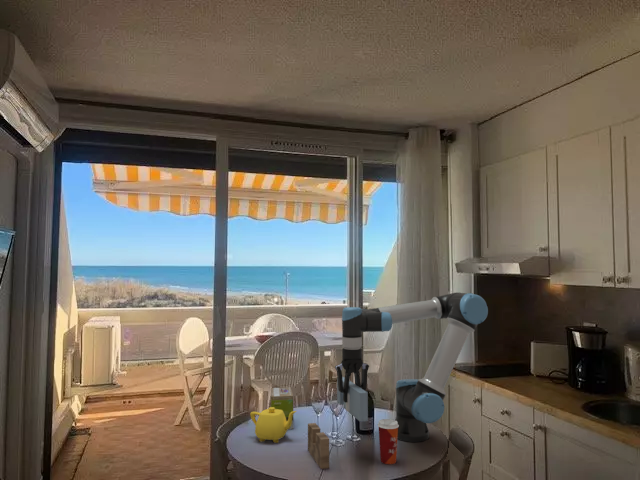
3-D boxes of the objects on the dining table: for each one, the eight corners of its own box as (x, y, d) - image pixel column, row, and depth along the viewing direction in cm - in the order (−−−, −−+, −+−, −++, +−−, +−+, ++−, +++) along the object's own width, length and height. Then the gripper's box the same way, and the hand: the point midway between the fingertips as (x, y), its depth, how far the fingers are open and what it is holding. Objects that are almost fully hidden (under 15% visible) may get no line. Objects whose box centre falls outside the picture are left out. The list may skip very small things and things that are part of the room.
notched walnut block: (307, 450, 181) (307, 423, 181) (315, 449, 182) (315, 422, 182) (320, 469, 164) (321, 439, 164) (329, 468, 164) (329, 438, 165)
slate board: (337, 402, 192) (337, 377, 193) (344, 401, 193) (344, 376, 194) (360, 421, 168) (359, 393, 168) (367, 420, 168) (367, 392, 169)
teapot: (292, 446, 184) (292, 414, 185) (244, 442, 189) (244, 410, 190) (300, 435, 198) (301, 405, 198) (255, 431, 202) (256, 401, 203)
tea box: (270, 419, 218) (270, 387, 219) (292, 419, 219) (292, 386, 220) (270, 430, 203) (270, 395, 204) (293, 429, 205) (294, 394, 206)
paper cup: (396, 466, 166) (396, 426, 167) (375, 463, 168) (375, 423, 169) (401, 458, 173) (400, 419, 174) (380, 455, 176) (380, 417, 177)
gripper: (367, 345, 187) (368, 405, 185) (329, 347, 182) (329, 409, 181) (375, 348, 180) (375, 411, 178) (335, 350, 175) (335, 415, 174)
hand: (352, 410), depth 179 cm, fingers closed on slate board, 3 cm apart
